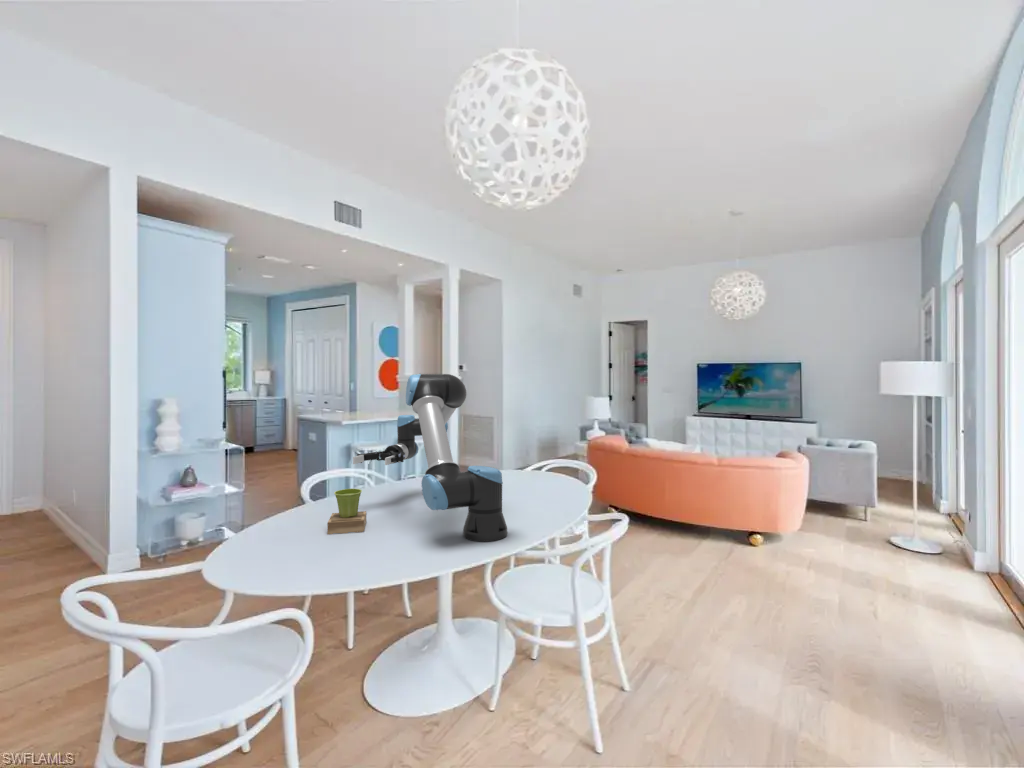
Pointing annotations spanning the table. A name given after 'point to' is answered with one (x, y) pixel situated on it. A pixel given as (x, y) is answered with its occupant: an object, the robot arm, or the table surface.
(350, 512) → the plant pot
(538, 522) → the table surface
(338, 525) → the oak plinth
